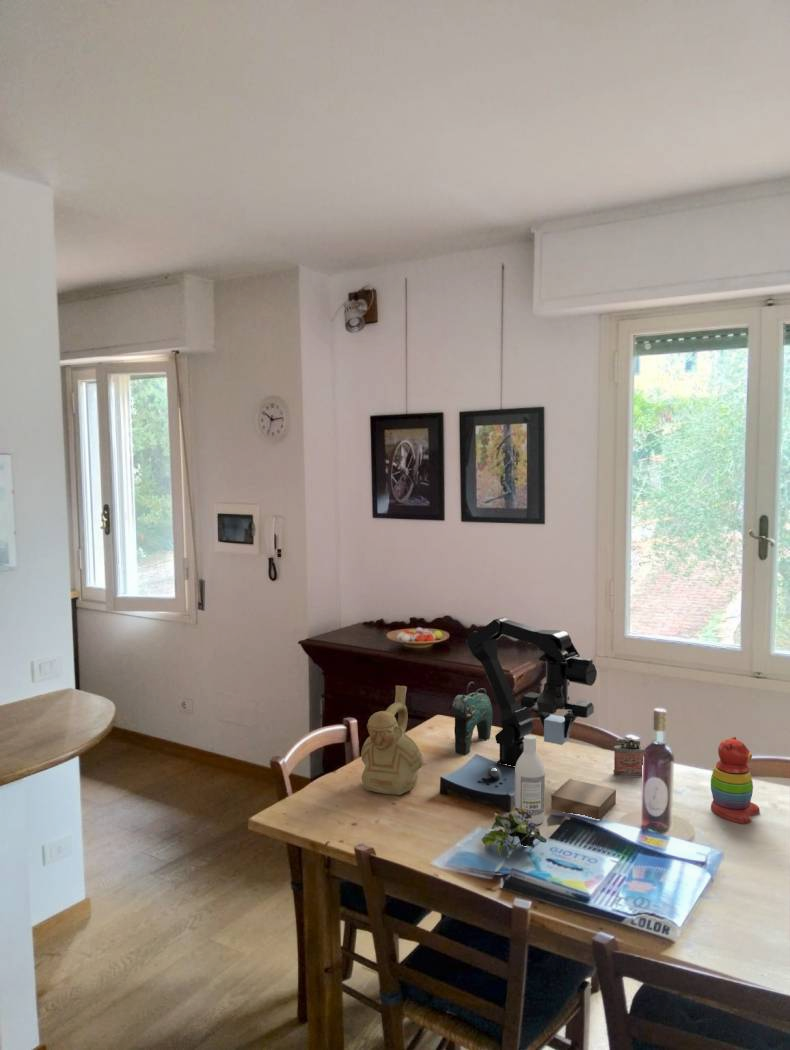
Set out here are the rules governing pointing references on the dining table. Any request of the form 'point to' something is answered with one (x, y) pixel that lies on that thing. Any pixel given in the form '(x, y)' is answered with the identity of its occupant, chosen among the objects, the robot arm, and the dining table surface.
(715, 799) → the stacking bear
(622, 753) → the lighter
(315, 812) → the dining table surface
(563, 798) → the walnut slab
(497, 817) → the green leafy plant
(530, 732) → the robot arm
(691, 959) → the dining table surface
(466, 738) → the green elephant figurine
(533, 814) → the bath foam
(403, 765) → the ceramic vessel
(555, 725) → the slate block
